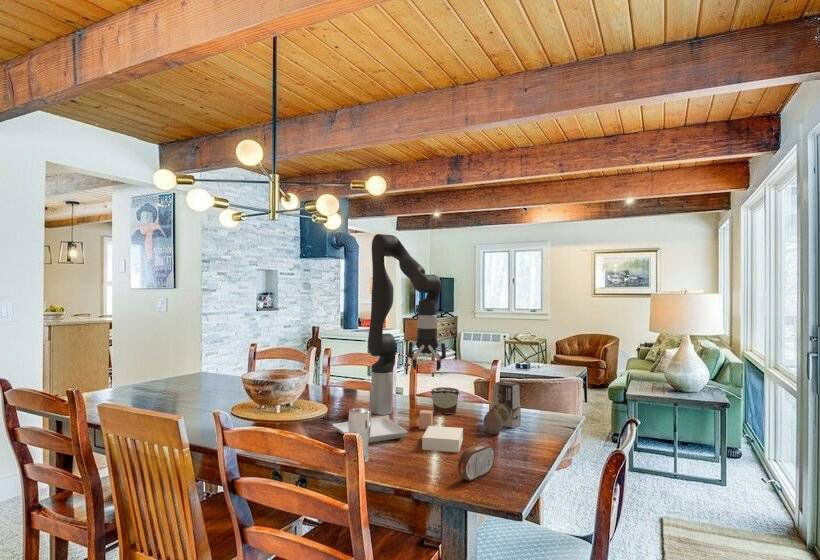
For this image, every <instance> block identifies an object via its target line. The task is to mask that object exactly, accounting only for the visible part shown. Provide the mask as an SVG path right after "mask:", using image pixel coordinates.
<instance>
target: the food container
mask: <svg viewBox="0 0 820 560" xmlns="http://www.w3.org/2000/svg"><path fill="white" fill-rule="evenodd" d="M430 395H431V397H432V406H433V410H432V411H433V414H441V413H445V415H450V414H451V415H456V414H457V408H458V397H459V396H460V391H459V389H457V388H454V387H449V386H447V387H446V386H445V387H444V386H441V387H434V388H431V391H430Z"/></svg>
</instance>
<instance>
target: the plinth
mask: <svg viewBox="0 0 820 560" xmlns="http://www.w3.org/2000/svg"><path fill="white" fill-rule="evenodd" d="M421 440H422V441H421V450H423V451H435V452H446V453H447V452H448V453H460V451H461V446H462V444H463V440H464V428H463V427H453V426H451V427H450V426H438V425H437V426H436V425H433V426H429V427H428V428H427V429H425V432H424V434H423V435H422V437H421Z"/></svg>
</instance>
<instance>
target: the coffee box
mask: <svg viewBox="0 0 820 560" xmlns="http://www.w3.org/2000/svg"><path fill="white" fill-rule="evenodd" d="M521 385H522V383H518V382H517V383H516V382H510V381H503V380H500V381H496V382H494V383H492V390H493V391H492V403H493V404H492V405H493V407H492V408H495V409H496V410H497V412H498V413H499V415H500V416H501V418H502V427H507V428H511V429H513V428H517V427H520V426H521V419H522V414H521V412H522V411H521V410H522V409H521V406H522V405H521V402H522V401H521V394H522V393H521V392H522V391H521Z"/></svg>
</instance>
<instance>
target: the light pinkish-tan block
mask: <svg viewBox="0 0 820 560" xmlns="http://www.w3.org/2000/svg"><path fill="white" fill-rule="evenodd" d="M418 414H419V415H418V418H419V419H418V429H420V430H427V428H428V427H429V426H434V423H433V422H434V421H433V420H434V410H429V409H428V410H425V409H421V410H420V411H419V413H418Z"/></svg>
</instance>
